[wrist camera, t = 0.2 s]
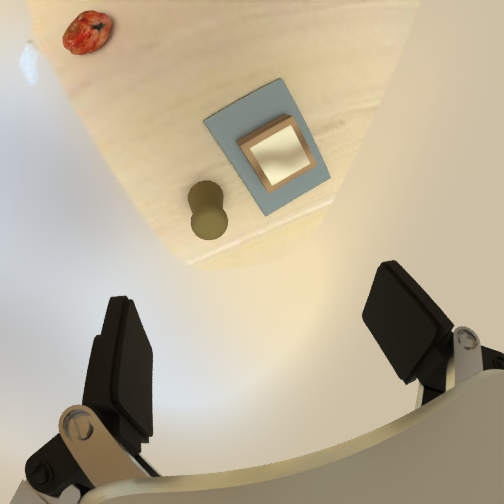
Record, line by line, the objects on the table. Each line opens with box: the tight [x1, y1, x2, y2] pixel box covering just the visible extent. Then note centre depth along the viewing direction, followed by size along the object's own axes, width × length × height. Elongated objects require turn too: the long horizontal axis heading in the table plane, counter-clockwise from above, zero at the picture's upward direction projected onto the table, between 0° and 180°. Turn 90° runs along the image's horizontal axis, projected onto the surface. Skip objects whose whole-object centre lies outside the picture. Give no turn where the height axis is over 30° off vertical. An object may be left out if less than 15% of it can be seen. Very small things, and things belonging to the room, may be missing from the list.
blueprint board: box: [203, 78, 331, 217], centre depth 42 cm, size 20×14×1 cm
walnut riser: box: [236, 114, 317, 194], centre depth 40 cm, size 9×9×4 cm
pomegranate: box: [63, 10, 112, 55], centre depth 22 cm, size 7×7×10 cm
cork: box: [188, 181, 228, 240], centre depth 41 cm, size 6×6×11 cm
